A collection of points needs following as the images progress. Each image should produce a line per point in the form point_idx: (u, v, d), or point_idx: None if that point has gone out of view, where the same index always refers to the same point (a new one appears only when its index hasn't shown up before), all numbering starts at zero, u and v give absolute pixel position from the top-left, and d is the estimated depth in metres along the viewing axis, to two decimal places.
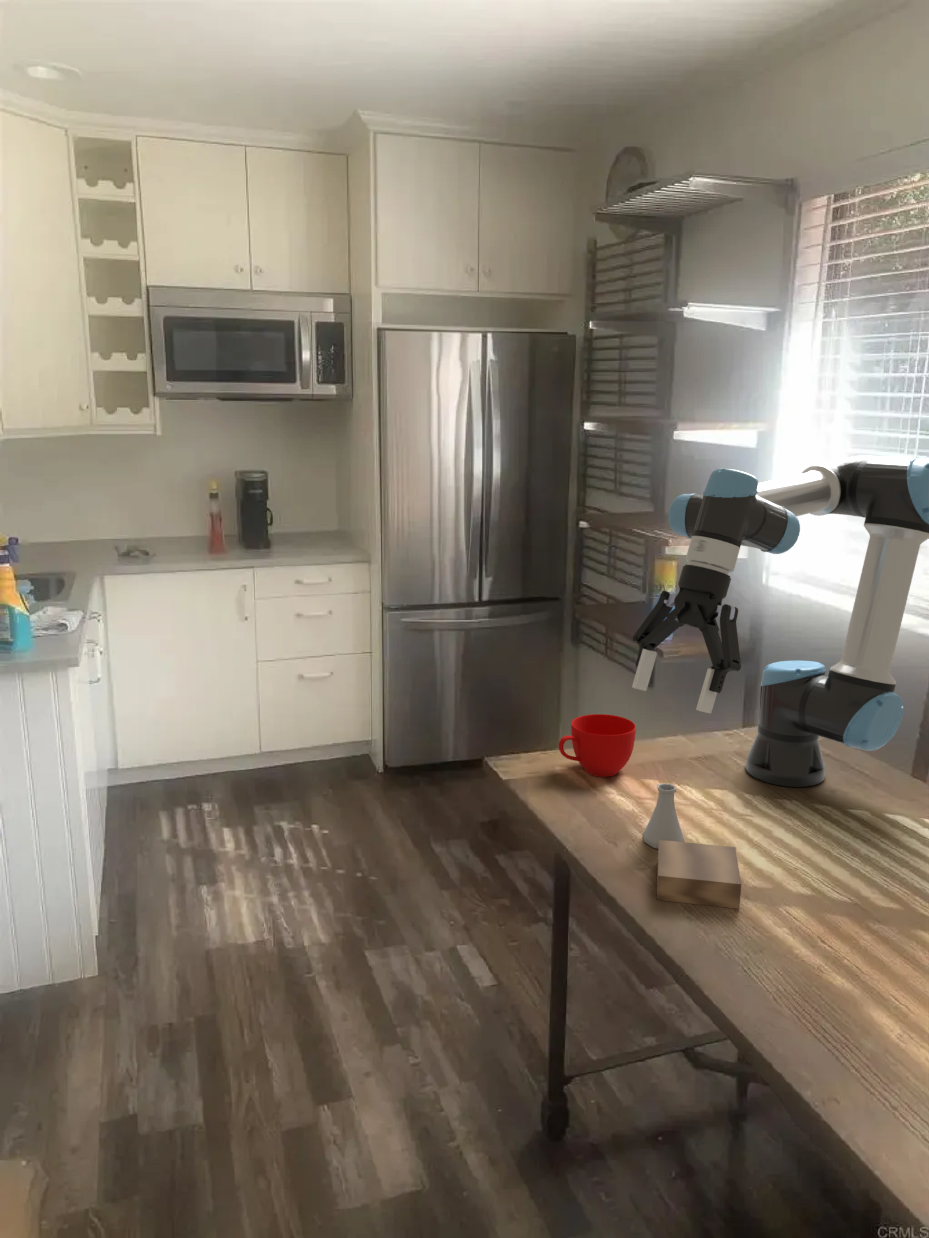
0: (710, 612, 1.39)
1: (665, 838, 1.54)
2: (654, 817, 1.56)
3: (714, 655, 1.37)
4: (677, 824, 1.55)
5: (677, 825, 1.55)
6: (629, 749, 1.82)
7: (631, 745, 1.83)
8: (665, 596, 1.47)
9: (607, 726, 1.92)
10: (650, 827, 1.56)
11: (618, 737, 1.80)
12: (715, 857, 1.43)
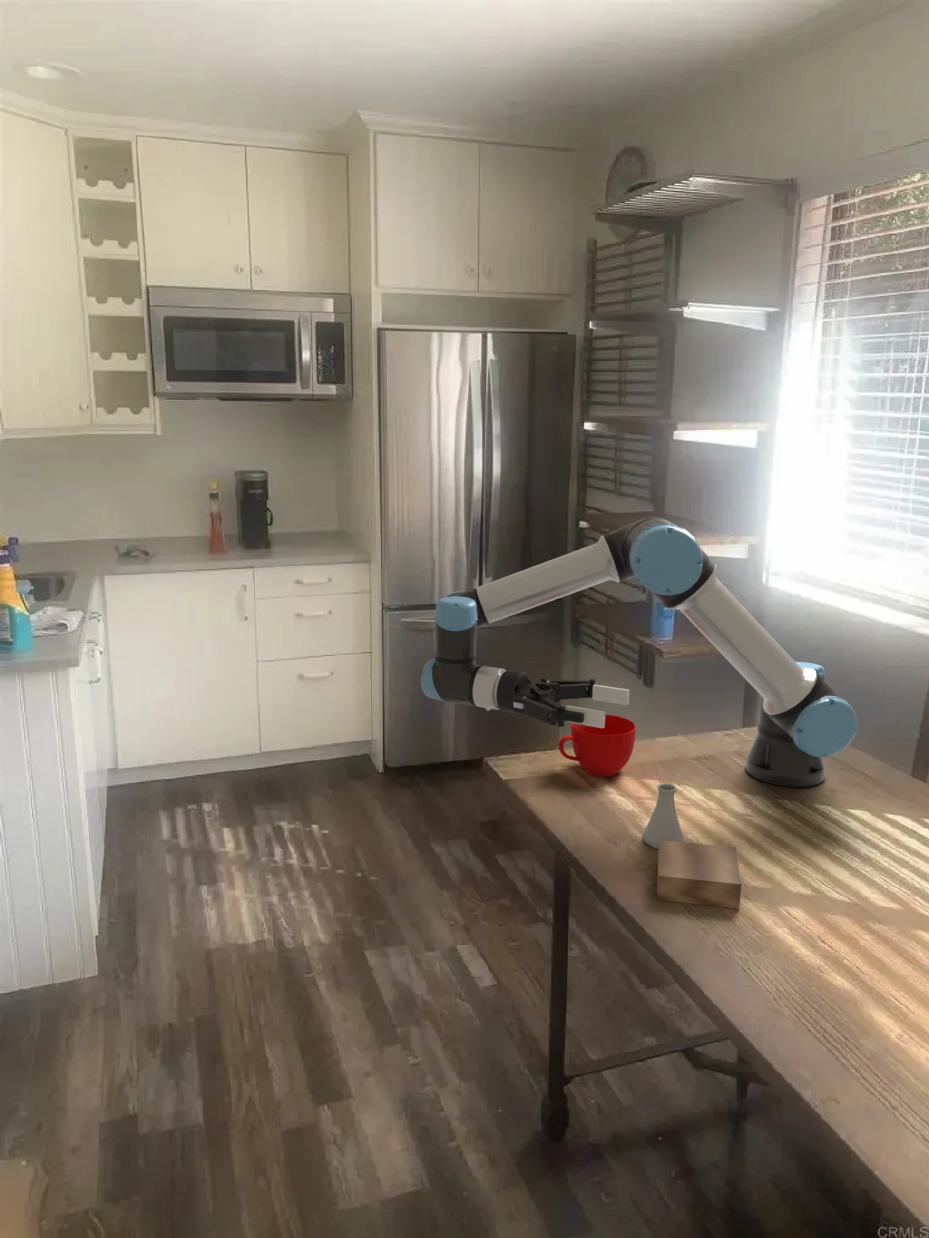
0: None
1: (665, 838, 1.54)
2: (654, 817, 1.56)
3: None
4: (677, 824, 1.55)
5: (677, 825, 1.55)
6: (629, 749, 1.82)
7: (631, 745, 1.83)
8: None
9: (607, 726, 1.92)
10: (650, 827, 1.56)
11: (618, 737, 1.80)
12: (715, 857, 1.43)
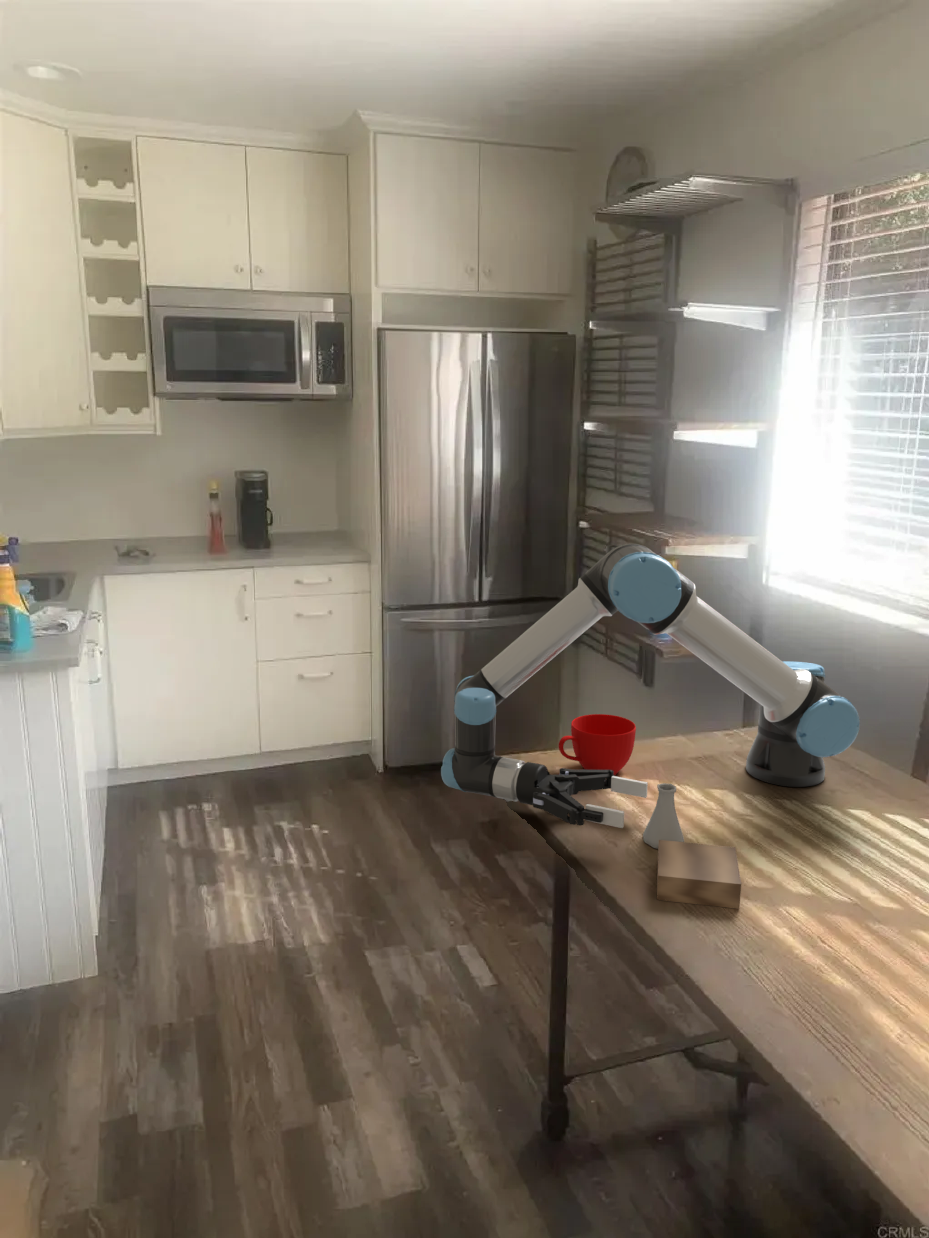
0: None
1: (665, 838, 1.54)
2: (654, 817, 1.56)
3: None
4: (677, 824, 1.55)
5: (677, 825, 1.55)
6: (629, 749, 1.82)
7: (631, 745, 1.83)
8: None
9: (607, 726, 1.92)
10: (650, 827, 1.56)
11: (618, 737, 1.80)
12: (715, 857, 1.43)
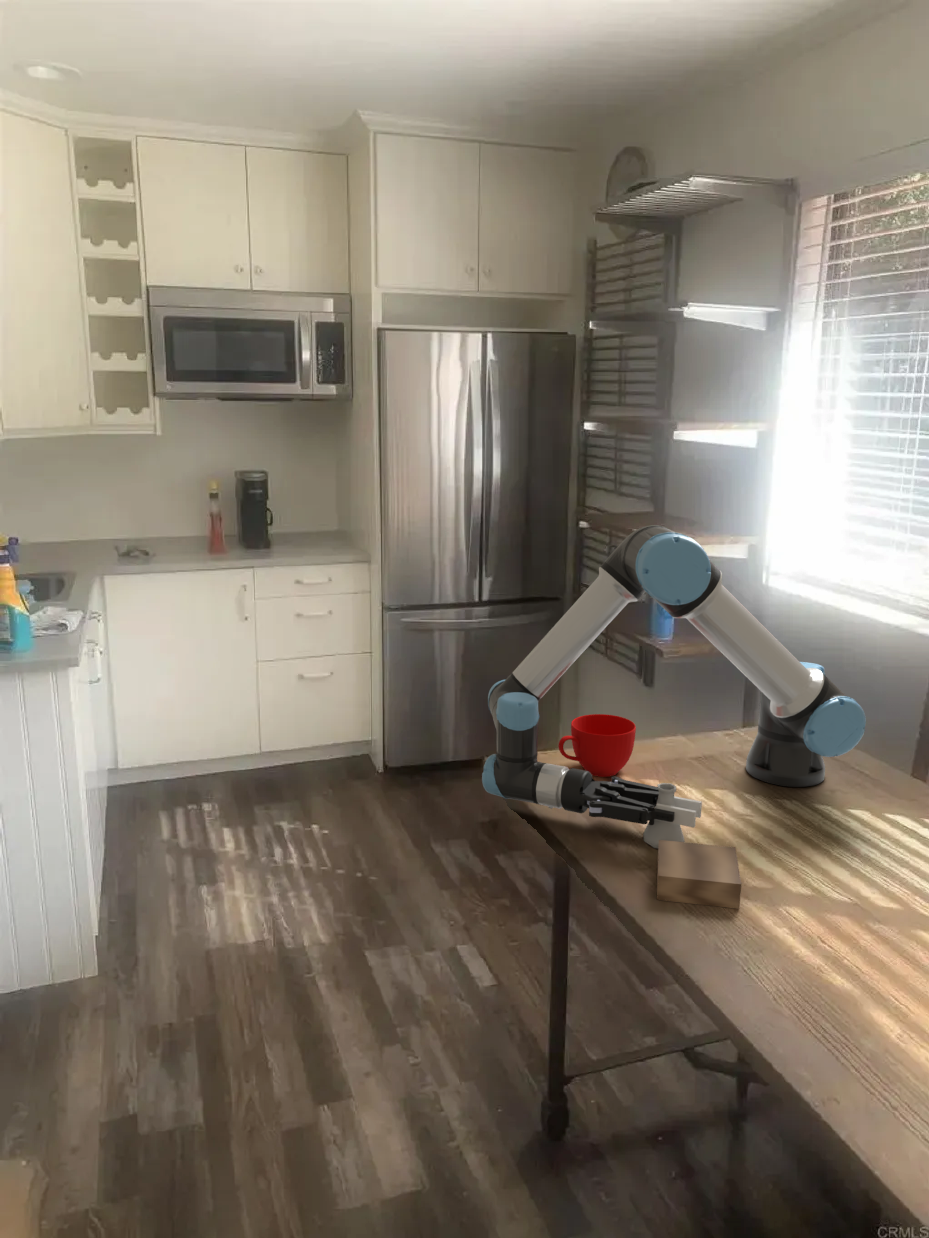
0: None
1: (665, 838, 1.54)
2: None
3: None
4: (677, 824, 1.55)
5: (677, 825, 1.55)
6: (629, 749, 1.82)
7: (631, 745, 1.83)
8: None
9: (607, 726, 1.92)
10: (650, 827, 1.56)
11: (618, 737, 1.80)
12: (715, 857, 1.43)
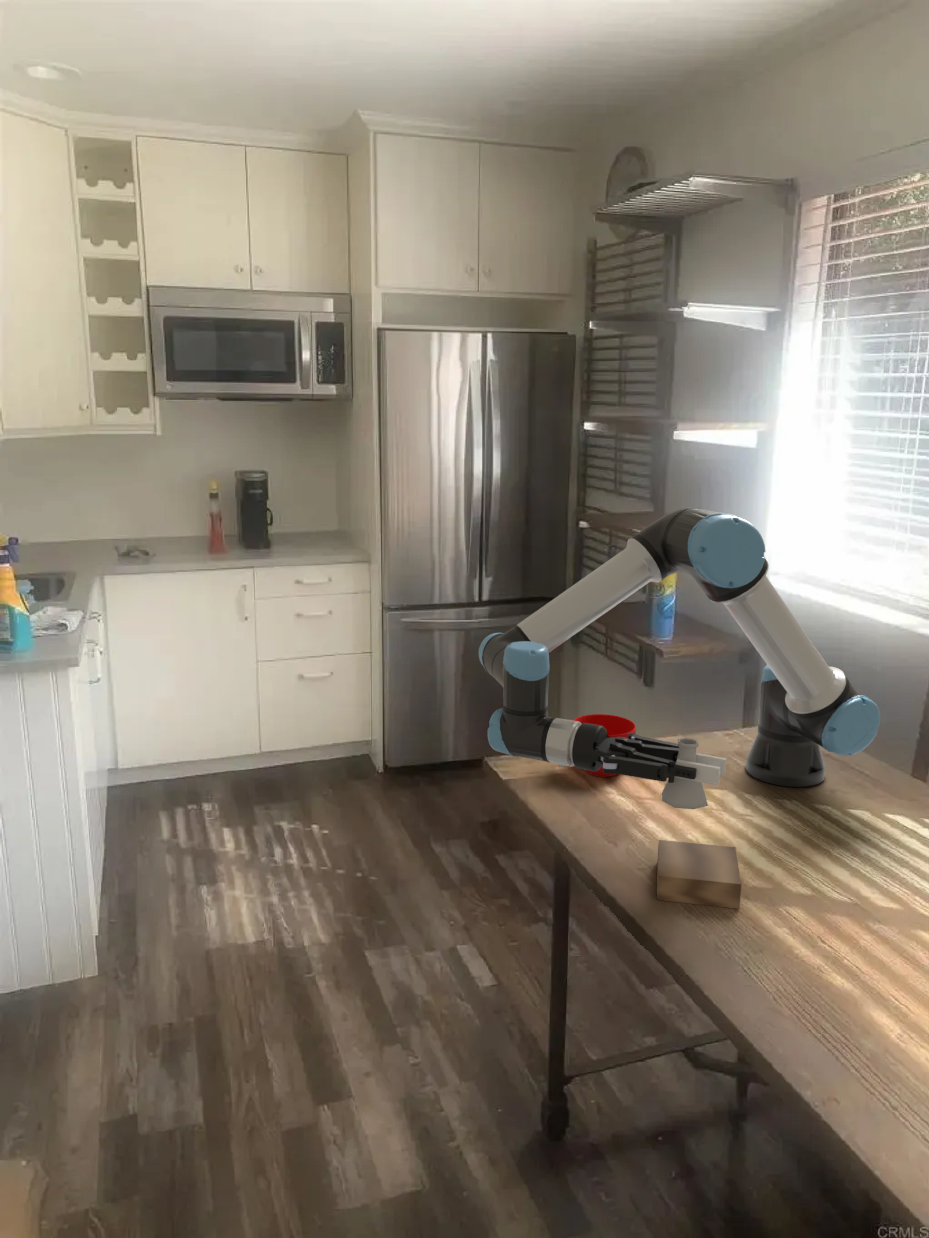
0: None
1: (686, 797, 1.41)
2: None
3: None
4: (699, 782, 1.42)
5: (699, 783, 1.42)
6: None
7: None
8: None
9: (607, 726, 1.92)
10: (669, 785, 1.43)
11: None
12: (715, 857, 1.43)
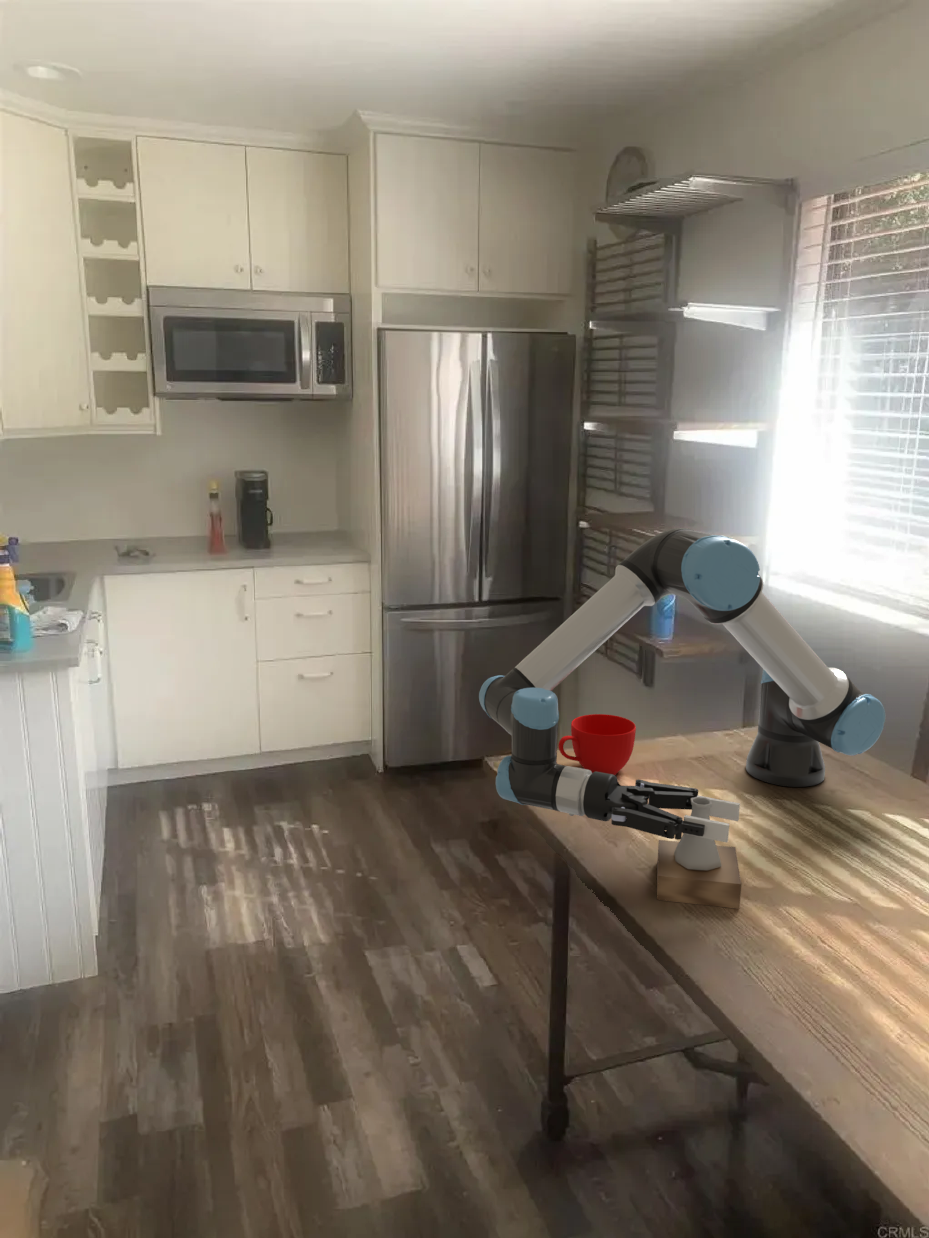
0: None
1: (699, 858, 1.39)
2: (687, 834, 1.40)
3: None
4: (713, 842, 1.40)
5: (713, 843, 1.40)
6: (629, 749, 1.82)
7: (631, 745, 1.83)
8: None
9: (607, 726, 1.92)
10: (683, 845, 1.41)
11: (618, 737, 1.80)
12: None
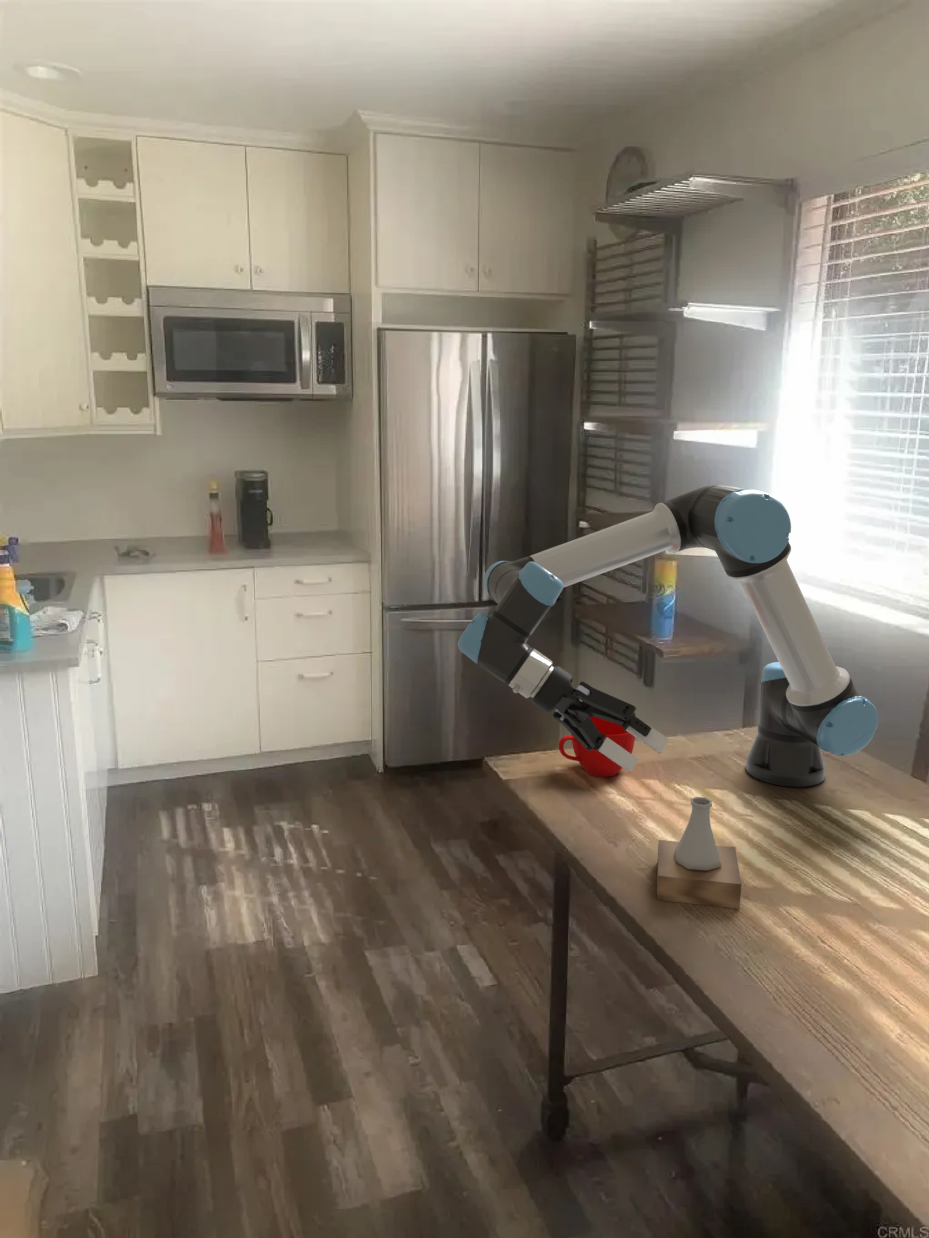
0: (578, 703, 1.48)
1: (699, 858, 1.39)
2: (687, 834, 1.40)
3: (615, 721, 1.45)
4: (713, 842, 1.40)
5: (713, 843, 1.40)
6: (629, 749, 1.82)
7: (631, 745, 1.83)
8: (557, 717, 1.57)
9: (607, 726, 1.92)
10: (683, 845, 1.41)
11: (618, 737, 1.80)
12: None
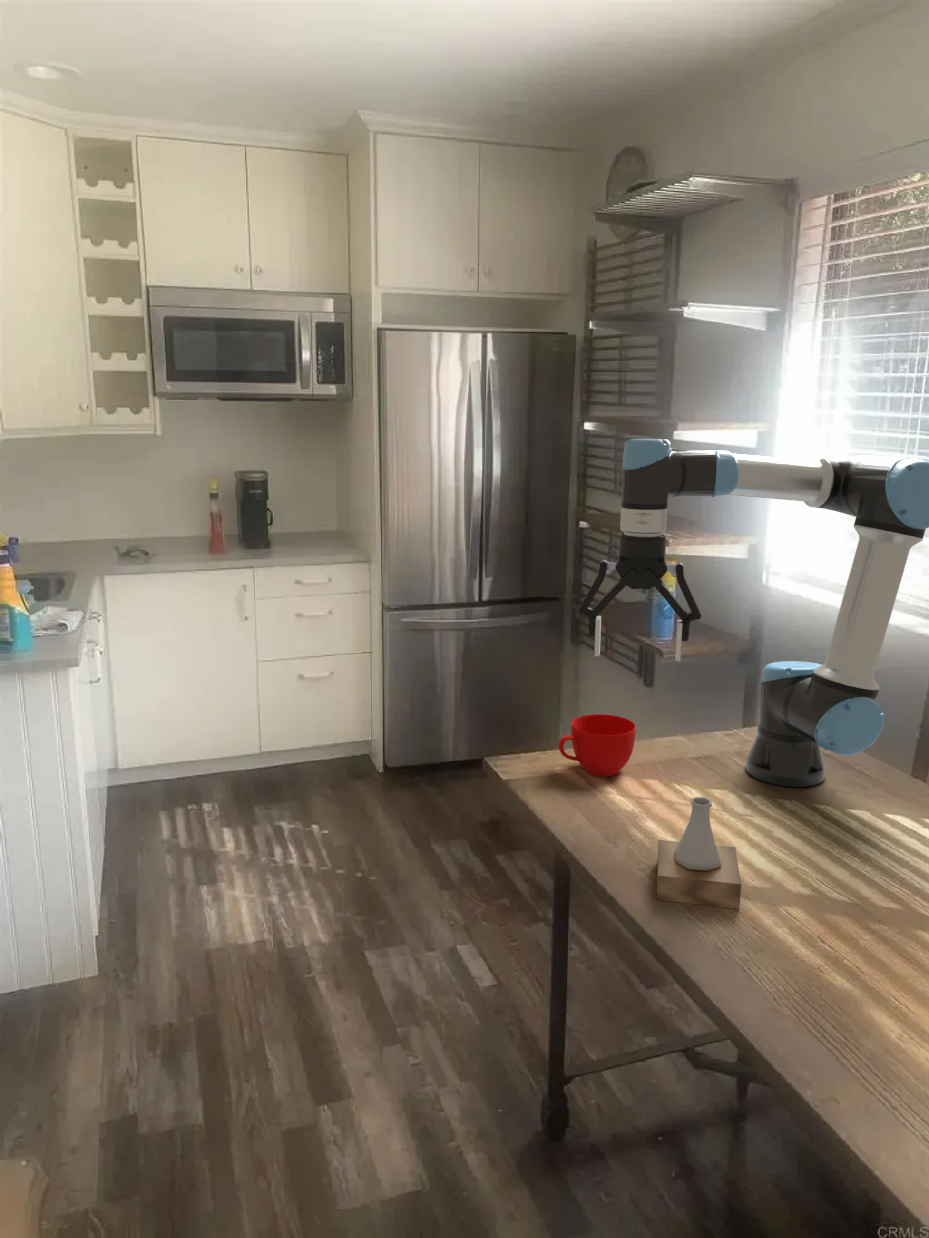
0: (663, 574, 1.52)
1: (699, 858, 1.39)
2: (687, 834, 1.40)
3: (680, 611, 1.53)
4: (713, 842, 1.40)
5: (713, 843, 1.40)
6: (629, 749, 1.82)
7: (631, 745, 1.83)
8: (606, 567, 1.54)
9: (607, 726, 1.92)
10: (683, 845, 1.41)
11: (618, 737, 1.80)
12: None
